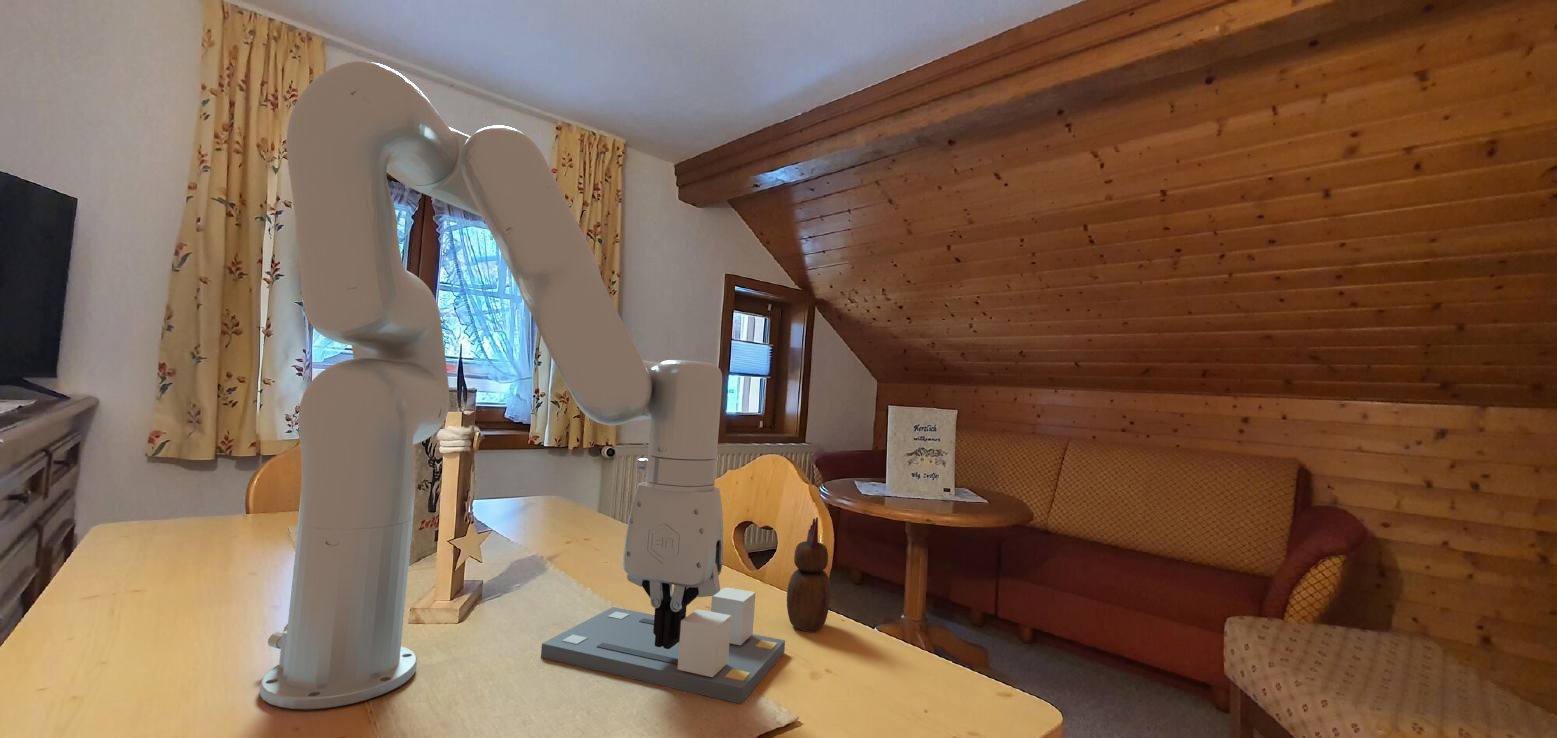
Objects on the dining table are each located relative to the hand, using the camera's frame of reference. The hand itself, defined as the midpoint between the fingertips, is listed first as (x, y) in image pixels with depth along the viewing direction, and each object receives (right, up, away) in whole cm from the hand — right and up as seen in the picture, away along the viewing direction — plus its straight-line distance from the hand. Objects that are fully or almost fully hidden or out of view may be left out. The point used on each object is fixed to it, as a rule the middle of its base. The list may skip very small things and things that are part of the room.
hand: (668, 643), depth 68 cm
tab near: (+4, -2, -2) cm, 5 cm away
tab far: (+6, -2, +7) cm, 10 cm away
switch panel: (-1, -3, +5) cm, 6 cm away
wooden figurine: (+16, -5, +17) cm, 24 cm away
